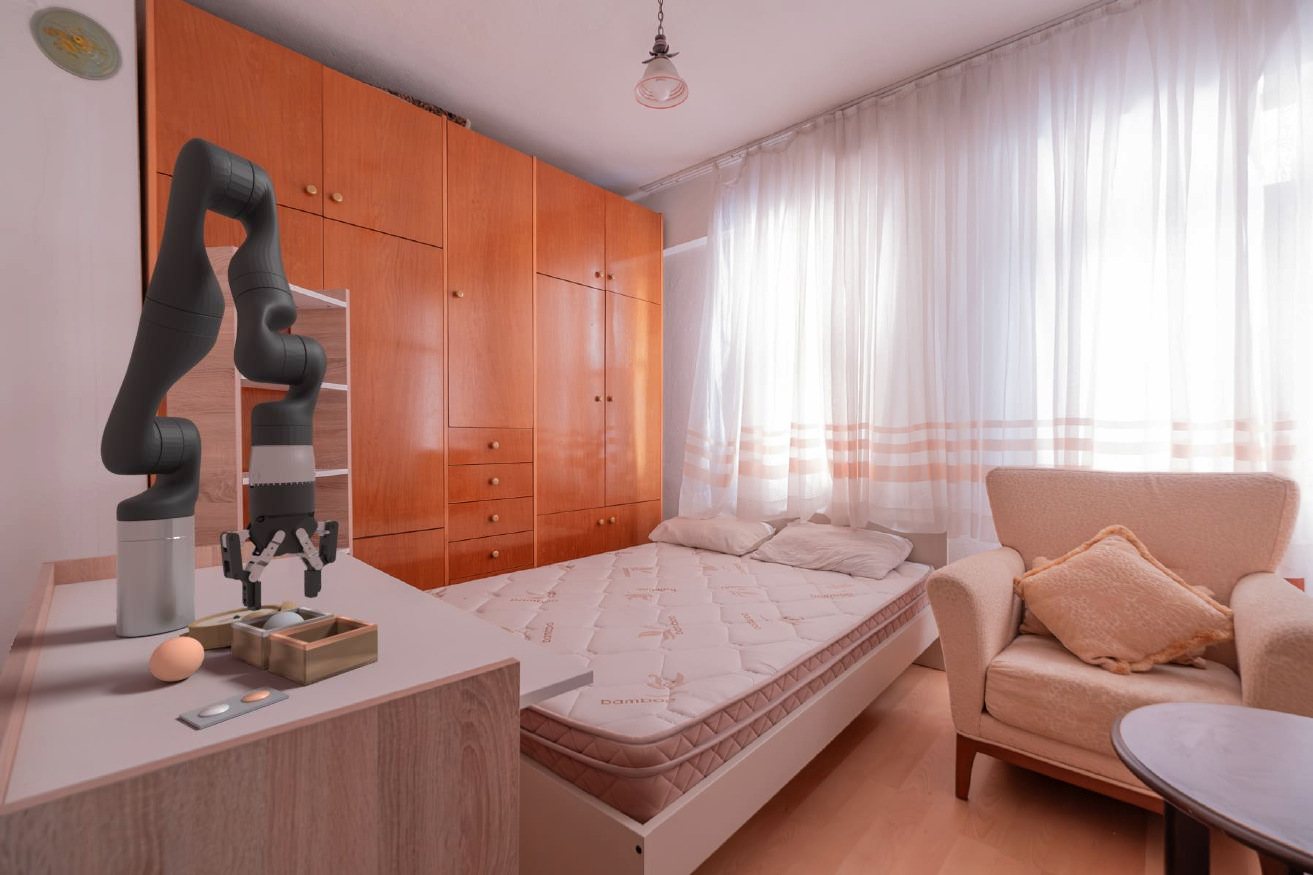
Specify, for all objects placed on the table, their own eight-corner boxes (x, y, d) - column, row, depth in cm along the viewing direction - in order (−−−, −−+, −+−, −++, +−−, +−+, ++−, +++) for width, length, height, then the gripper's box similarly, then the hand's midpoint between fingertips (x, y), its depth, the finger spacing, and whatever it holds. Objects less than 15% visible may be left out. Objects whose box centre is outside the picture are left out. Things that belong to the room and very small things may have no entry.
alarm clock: (232, 607, 89) (319, 590, 88) (237, 638, 89) (325, 622, 88) (163, 630, 78) (262, 611, 77) (169, 665, 78) (269, 647, 77)
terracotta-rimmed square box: (268, 671, 69) (268, 633, 69) (339, 649, 77) (339, 615, 77) (306, 685, 65) (306, 645, 65) (377, 660, 72) (377, 624, 72)
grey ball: (254, 652, 75) (254, 614, 75) (294, 641, 79) (294, 605, 80) (272, 658, 73) (272, 619, 73) (313, 647, 77) (313, 610, 77)
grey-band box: (231, 657, 74) (231, 622, 75) (301, 638, 82) (300, 606, 82) (263, 669, 70) (263, 632, 70) (334, 647, 77) (334, 614, 78)
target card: (179, 717, 57) (179, 712, 57) (266, 688, 64) (266, 683, 64) (200, 729, 55) (200, 723, 55) (289, 697, 62) (288, 692, 62)
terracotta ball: (142, 683, 66) (142, 640, 67) (194, 668, 71) (194, 628, 71) (159, 691, 64) (159, 647, 64) (211, 676, 68) (211, 634, 68)
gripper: (322, 476, 85) (323, 588, 84) (207, 482, 72) (207, 613, 72) (350, 477, 81) (351, 594, 80) (234, 482, 68) (234, 621, 68)
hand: (283, 602), depth 76 cm, fingers open, 6 cm apart
